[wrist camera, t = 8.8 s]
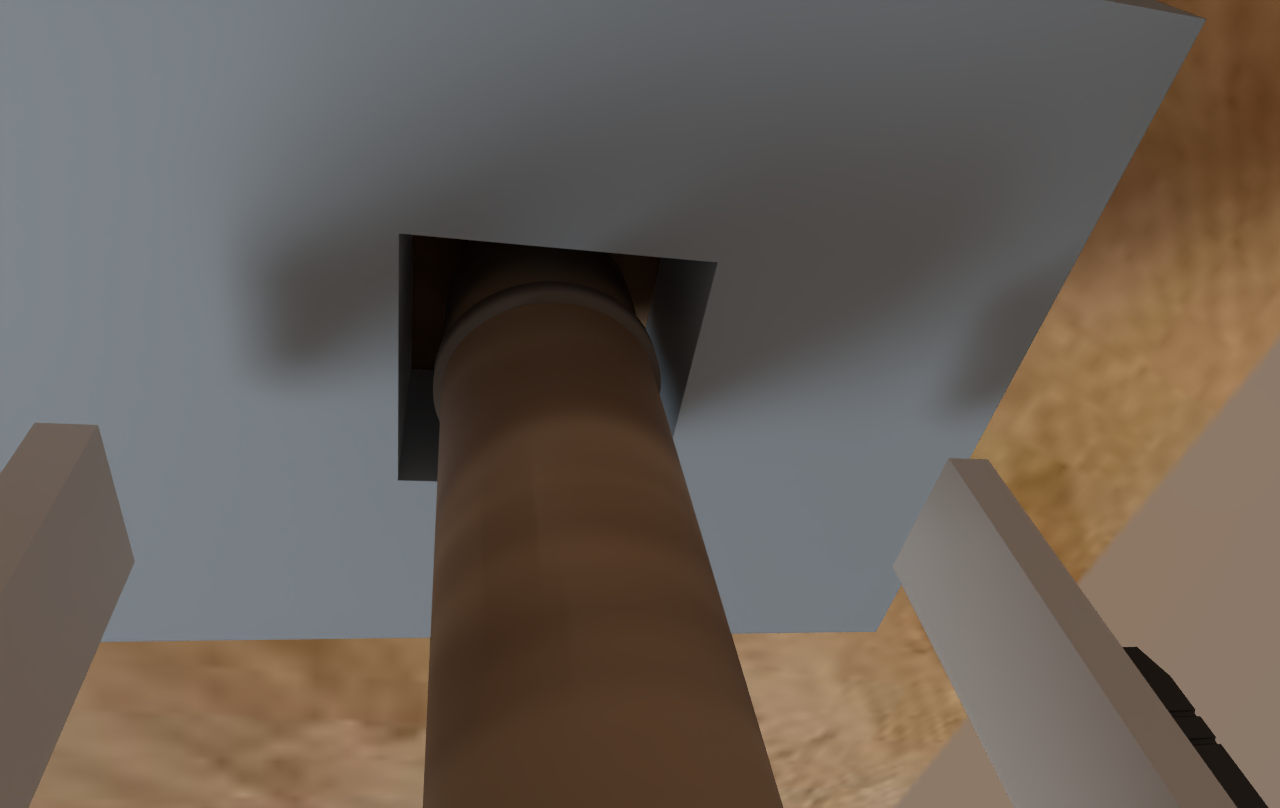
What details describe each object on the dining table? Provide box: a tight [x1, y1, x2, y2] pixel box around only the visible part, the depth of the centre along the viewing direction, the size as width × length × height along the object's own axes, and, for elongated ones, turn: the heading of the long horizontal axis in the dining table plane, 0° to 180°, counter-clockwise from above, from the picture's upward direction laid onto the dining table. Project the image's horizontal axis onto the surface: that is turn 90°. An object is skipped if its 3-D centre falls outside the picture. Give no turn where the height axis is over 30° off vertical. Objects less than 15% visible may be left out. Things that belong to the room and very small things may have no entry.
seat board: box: [0, 0, 1206, 642], centre depth 18 cm, size 16×20×4 cm
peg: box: [423, 240, 783, 808], centre depth 14 cm, size 4×4×14 cm
